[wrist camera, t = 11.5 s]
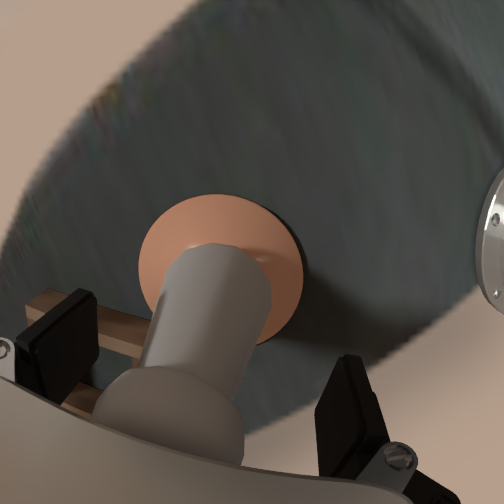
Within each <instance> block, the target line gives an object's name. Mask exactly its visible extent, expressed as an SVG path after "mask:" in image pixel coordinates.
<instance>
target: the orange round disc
mask: <svg viewBox="0 0 504 504" xmlns="http://www.w3.org/2000/svg"><path fill="white" fill-rule="evenodd" d="M208 243H216V244H224V245H231V246H236V247H238V248H239V249H241V250H242V251H244V252H245V253H246V254H248V255H249V256H251V257H252V258H254V259H255V260H256V261H257V262H258V264H259V265H260V267H261V268H262V270H263V272H264V273H265V275H266V276H267V278H268V280H269V282H270V284H271V304H272V308H271V310H270V313H269V315H268V317H267V320H266V322H265V324H264V327H263V329H262V331H261V334H260V336H259V338H258V341H257V343H256V345H257V344H259V343H261V342H264V341H265V340H267V339H269V338H270V337H272V336H273V335H274V334H276V333H277V332H278V331H280V330H281V329H282V327H283V326H284V325H285V324H286V323H287V322H288V321H289V319H290V318H291V317H292V315H293V313H294V311H295V310H296V308H297V305H298V303H299V300H300V297H301V293H302V288H303V266H302V262H301V257H300V254H299V251H298V248H297V246H296V243H295V241H294V239H293V238H292V236H291V234H290V233H289V231H288V230H287V228H286V227H285V226H284V224H283V223H282V222H281V221H280V220H279V219H278V218H277V217H276V216H275V215H273V214H272V213H271V212H269V211H268V210H267V209H265V208H264V207H262V206H260V205H259V204H257V203H255V202H252V201H250V200H248V199H245V198H241V197H238V196H234V195H227V194H208V195H200V196H197V197H193V198H190V199H187V200H185V201H183V202H180V203H178V204H177V205H175V206H173V207H172V208H170V209H169V210H167V211H166V212H165V213H164V214H163V215H161V216H160V217H159V218H158V220H157V221H156V222H155V223H154V224H153V226H152V227H151V229H150V230H149V232H148V233H147V235H146V237H145V240H144V242H143V245H142V248H141V251H140V257H139V279H140V284H141V288H142V292H143V294H144V297H145V300H146V302H147V304H148V305H149V307H150V309H151V310H152V312H153V313H154V310H155V306H156V303H157V300H158V297H159V294H160V291H161V288H162V285H163V281H164V278H165V275H166V272H167V269H168V267H169V266H170V265H171V264H172V263H173V262H174V261H175V260H176V259H177V258H178V257H179V256H180V255H181V254H182V253H183V252H184V251H185V250H187V249H190V248H194V247H197V246H201V245H205V244H208Z"/></svg>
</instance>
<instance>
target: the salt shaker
mask: <svg viewBox="0 0 504 504" xmlns="http://www.w3.org/2000/svg"><path fill="white" fill-rule="evenodd" d="M271 308H272V304H271V284H270V282H269V280H268V278H267V276H266V275H265V273H264V272H263V270H262V268H261V267H260V265H259V264H258V262H257V261H256V260H255V259H254V258H252V257H251V256H249V255H248V254H246V253H245V252H244V251H242V250H241V249H239V248H238V247H236V246H231V245H224V244H216V243H208V244H205V245H201V246H197V247H194V248H190V249H187V250H185V251H184V252H183V253H182V254H181V255H180V256H179V257H178V258H177V259H176V260H175V261H174V262H173V263H172V264H171V265H170V266H169V267H168V269H167V272H166V275H165V278H164V281H163V285H162V288H161V291H160V294H159V297H158V300H157V303H156V306H155V310H154V313H153V316H152V319H151V322H150V326H149V329H148V332H147V336H146V339H145V342H144V346H143V349H142V353H141V356H140V360H139V363H138V367H137V368H134V369H129V370H127V371H126V372H124V373H122V374H121V375H120V376H119V377H118V378H117V379H116V380H114V381H113V382H112V383H111V384H110V385H109V386H107V388H106V389H105V390H104V391H103V393H102V394H101V395H100V397H99V398H98V399H97V401H96V404H95V407H94V410H93V413H92V416H91V420H92V421H95V422H97V423H100V424H102V425H104V426H107V427H109V428H112V429H114V430H117V431H120V432H122V433H125V434H128V435H130V436H133V437H136V438H139V439H142V440H145V441H148V442H151V443H154V444H157V445H160V446H163V447H167V448H170V449H173V450H177V451H180V452H184V453H188V454H191V455H195V456H199V457H203V458H207V459H212V460H216V461H220V462H225V463H230V464H235V465H240V466H241V462H242V460H243V457H244V432H243V424H242V417H241V414H240V412H239V410H238V408H237V407H236V406H235V405H234V404H233V403H232V402H233V400H234V397H235V395H236V392H237V390H238V388H239V385H240V383H241V380H242V378H243V375H244V373H245V370H246V368H247V365H248V363H249V360H250V358H251V355H252V353H253V350H254V348H255V345H256V343H257V341H258V338H259V336H260V334H261V331H262V329H263V327H264V324H265V322H266V320H267V317H268V315H269V313H270V310H271Z"/></svg>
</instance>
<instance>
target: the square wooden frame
mask: <svg viewBox="0 0 504 504" xmlns="http://www.w3.org/2000/svg"><path fill="white" fill-rule="evenodd" d="M66 297H68V295H66V294H63V293H60V292H57V291H54V290H51V289H49V288H48V289H47V290H45V291H44V292H42V293H41V294H40V295H38V296H37V297H35V298H34V299H33V300H31V301H30V302H28V303H27V304H26V305H25V307H26V314H27V321H28V327H29V326H31V325H32V324H33V323H34V322H36V321H37V320H38V319H39V318H41V317H42V316H43V315H44V314H46V313H47V312H48V311H50V310H51V309H52V308H53V307H55V306H56V305H57V304H59V303H60V302H61V301H62V300H64V299H65V298H66ZM97 321H98V341H99V346H101V347H104V348H107V349H110V350H113V351H116V352H119V353H122V354H125V355H129V356H132V369H134V368H137V367H138V363H139V360H140V356H141V353H142V349H143V346H144V342H145V339H146V336H147V332H148V329H149V326H150V322H151V321H150V320H146V319H142V318H139V317H135V316H132V315H128V314H125V313H122V312H118V311H115V310H112V309H108V308H105V307H102V306H99V305H97ZM102 393H103V391H102V390H99V389H97V388H94V387H92V386H89V385H86V384H84V383H81V382H79V383H78V384H77V385H76V386H75V388H74V389H73V390H72V391H71V393H70V394H69V395H68V397H67V398H66V399H65V400H64V402H63V403H62V404H61V406H62V407H64V408H66V409H68V410H70V411H72V412H75V413H77V414H79V415H81V416H83V417H86V418H88V419H90V420H91V416H92V413H93V410H94V407H95V404H96V401H97V399H98V398H99V397H100V395H101V394H102Z"/></svg>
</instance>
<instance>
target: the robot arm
mask: <svg viewBox="0 0 504 504" xmlns="http://www.w3.org/2000/svg"><path fill="white" fill-rule="evenodd" d="M475 260H476V272H477V277H478V283H479V285H480V288H481V290H482V293H483V295H484V296H485V298H486V299H487V301H488V302H489V303H490V304H491V305H492V306H493V307H494V308H495V309H496V310H498V311H499V312H501V313H503V314H504V167H503V169H502V170H501V171H500V172H499V173H498V175H497V177H496V178H495V180H494V182H493V183H492V185H491V187H490V189H489V192H488V194H487V196H486V199H485V201H484V205H483V208H482V211H481V215H480V218H479V224H478V229H477V235H476V248H475ZM16 340H17V342H15V343H14V344H13V343H12V342H11V341H10V340H8V339H6V338H2V337H0V504H461V503H460V500H459V498H458V497H457V495H456V494H454V493H453V492H452V491H450V490H448V489H447V488H445V487H444V486H442V485H440V484H439V483H437V482H435V481H434V480H432V479H431V478H429V477H427V476H426V475H424V474H423V473H421V472H420V471H418V470H416V468H417V465H418V458H417V455H416V453H415V452H414V451H413V449H412V448H410V447H409V446H408V445H406V444H403V443H401V442H390V438H389V435H388V432H387V428H386V425H385V422H384V419H383V415H382V412H381V409H380V406H379V403H378V400H377V397H376V394H375V393H374V392H373V391H372V389H371V386H370V383H369V380H368V377H367V374H366V371H365V368H364V365H363V362H362V359H361V357H360V356H356V355H350V354H345V355H344V356H343V357H339V358H338V360H337V362H336V365H335V367H334V369H333V371H332V374H331V376H330V378H329V380H328V383H327V385H326V387H325V389H324V391H323V393H322V395H321V397H320V400H319V402H318V404H317V406H316V408H315V415H314V416H315V427H316V440H317V453H318V467H319V476H310V475H300V474H291V473H284V472H276V471H270V470H263V469H257V468H250V467H245V466H240V465H235V464H230V463H225V462H220V461H216V460H212V459H207V458H203V457H199V456H195V455H191V454H188V453H184V452H180V451H177V450H173V449H170V448H167V447H163V446H160V445H157V444H154V443H151V442H148V441H145V440H142V439H139V438H136V437H133V436H130V435H128V434H125V433H122V432H120V431H117V430H114V429H112V428H109V427H107V426H104V425H102V424H100V423H97V422H95V421H92V420H90V419H88V418H86V417H83V416H81V415H79V414H77V413H75V412H72V411H70V410H68V409H66V408H64V407H62V406H61V404H62V403H63V402H64V400H65V399H66V398H67V397H68V395H69V394H70V393H71V391H72V390H73V389H74V388H75V386H76V385H77V384H78V383H79V381H80V380H81V379H82V378H83V376H84V375H85V374H86V373H87V371H88V370H89V369H90V368H91V366H92V365H93V364H94V363H95V362H96V360H97V359H98V356H99V341H98V321H97V299H96V297H94V294H93V293H92V292H90V291H87V290H85V289H82V288H79V289H77V290H76V291H74V292H73V293H72V294H70V295H69V296H68V297H66V298H65V299H64V300H62V301H61V302H60V303H59V304H57V305H56V306H55V307H53V308H52V309H51V310H50V311H48V312H47V313H46V314H44V315H43V316H42V317H41V318H39V319H38V320H37V321H36V322H34V323H33V324H32V325H31V326H29V327H28V328H27V329H26V330H24V331H23V332H22V333H21V334H20V335H18V336H17V337H16Z"/></svg>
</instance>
